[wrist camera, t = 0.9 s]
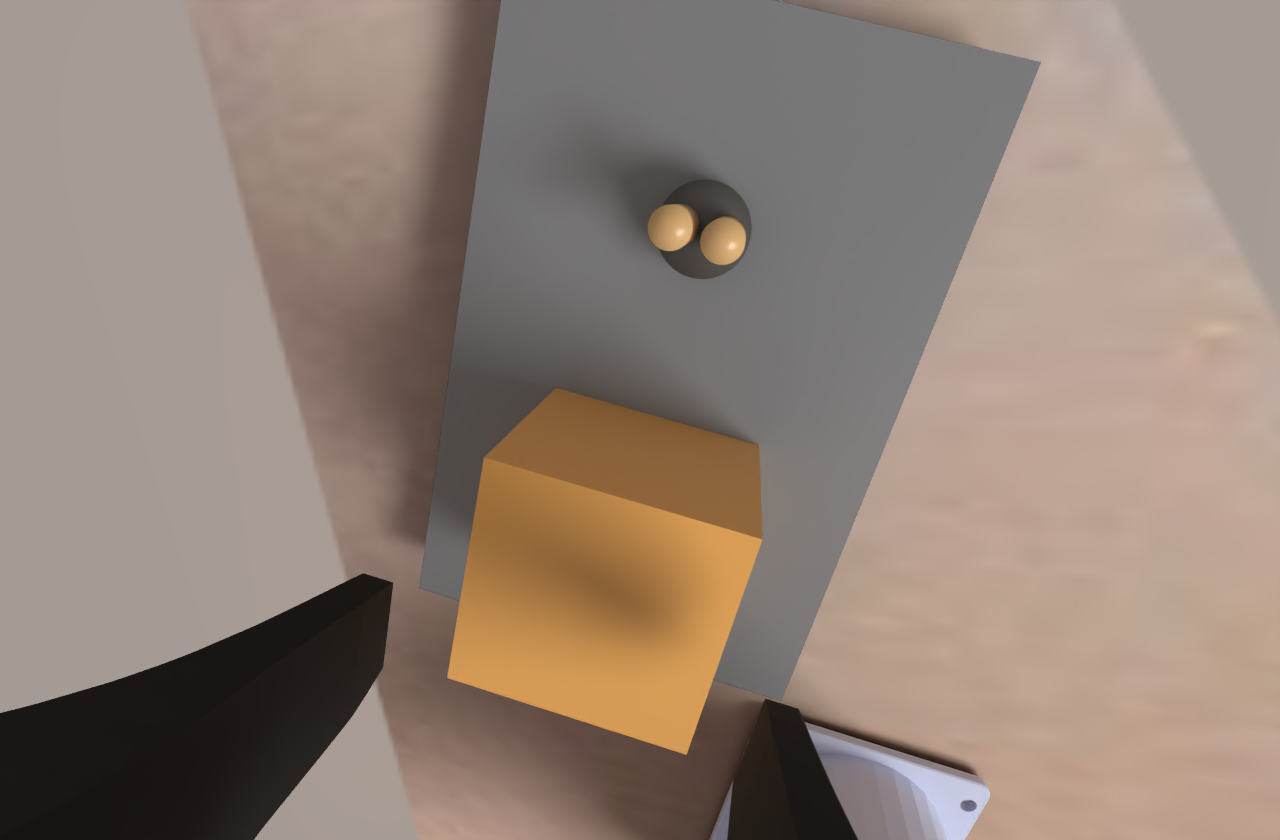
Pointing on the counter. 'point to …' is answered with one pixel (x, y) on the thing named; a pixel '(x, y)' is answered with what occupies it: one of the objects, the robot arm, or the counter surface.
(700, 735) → the counter surface
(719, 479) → the amber cube
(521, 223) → the flat grey tile
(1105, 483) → the counter surface
